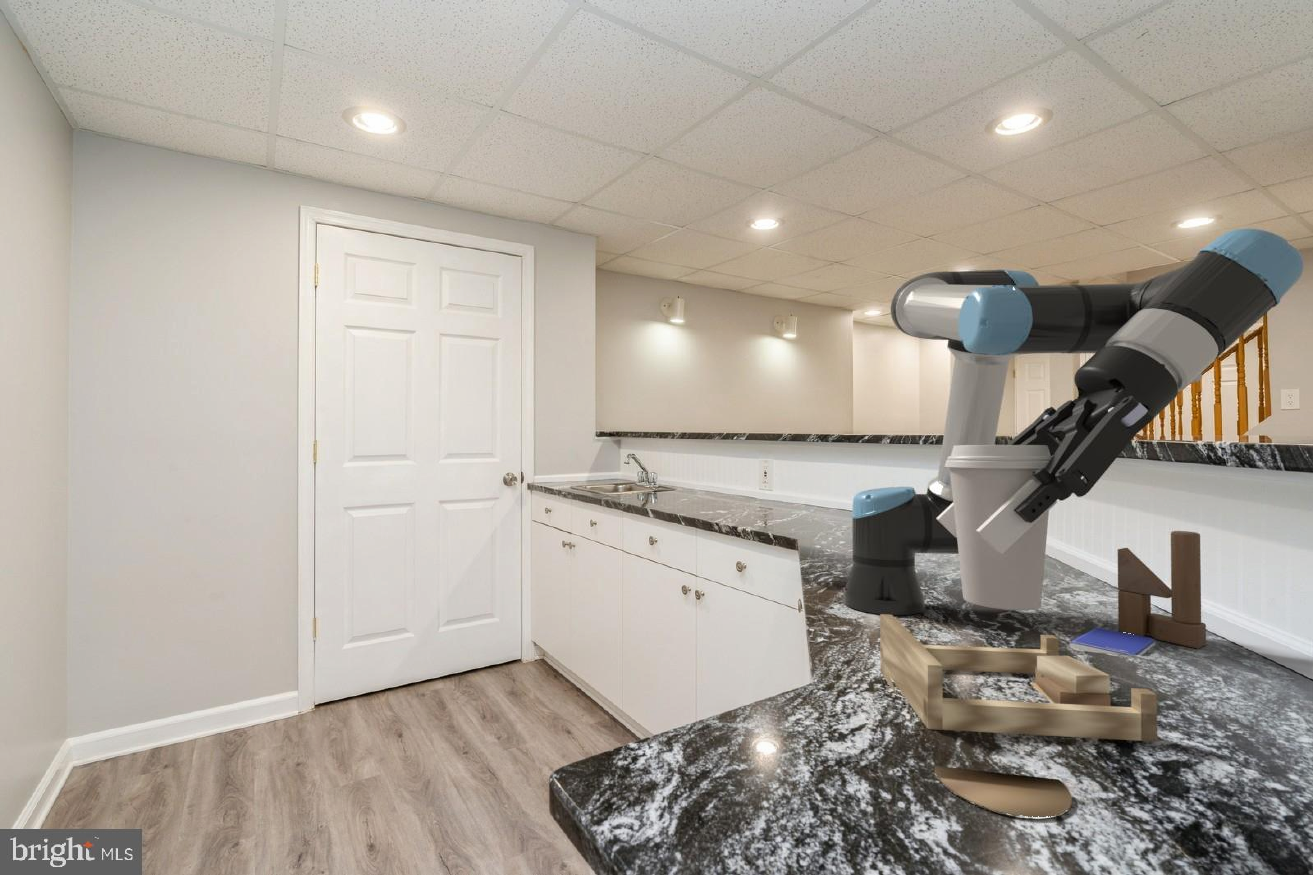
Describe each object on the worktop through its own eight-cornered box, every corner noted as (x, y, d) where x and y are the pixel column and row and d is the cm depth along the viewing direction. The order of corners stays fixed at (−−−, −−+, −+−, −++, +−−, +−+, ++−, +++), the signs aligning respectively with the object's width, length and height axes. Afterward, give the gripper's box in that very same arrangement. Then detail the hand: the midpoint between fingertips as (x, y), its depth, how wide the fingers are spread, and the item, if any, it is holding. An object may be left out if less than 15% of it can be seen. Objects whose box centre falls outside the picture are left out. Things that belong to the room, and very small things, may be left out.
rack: (927, 740, 65) (927, 665, 65) (880, 671, 85) (880, 614, 85) (1157, 753, 62) (1156, 675, 62) (1052, 679, 82) (1052, 620, 82)
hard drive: (1133, 654, 89) (1155, 638, 97) (1069, 640, 96) (1094, 626, 104) (1133, 665, 89) (1155, 648, 97) (1069, 650, 96) (1094, 635, 104)
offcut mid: (1060, 709, 69) (1060, 691, 69) (1035, 683, 77) (1035, 667, 77) (1110, 714, 68) (1110, 696, 68) (1080, 687, 76) (1080, 671, 76)
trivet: (909, 770, 59) (909, 766, 59) (980, 744, 64) (980, 740, 64) (1024, 834, 49) (1024, 829, 49) (1097, 797, 54) (1097, 793, 54)
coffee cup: (943, 606, 56) (942, 445, 57) (947, 586, 65) (946, 446, 65) (1067, 620, 52) (1064, 444, 52) (1054, 596, 60) (1052, 445, 61)
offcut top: (1076, 693, 69) (1076, 675, 69) (1037, 672, 75) (1037, 656, 75) (1109, 692, 69) (1109, 675, 69) (1067, 671, 76) (1067, 655, 76)
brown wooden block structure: (1126, 628, 106) (1126, 525, 106) (1206, 646, 97) (1205, 532, 97) (1117, 632, 104) (1116, 526, 104) (1197, 650, 95) (1196, 534, 95)
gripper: (1277, 384, 46) (1058, 587, 47) (1098, 406, 68) (951, 545, 69) (1200, 316, 47) (986, 518, 48) (1047, 360, 69) (903, 498, 70)
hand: (966, 534), depth 59 cm, fingers closed on coffee cup, 9 cm apart
